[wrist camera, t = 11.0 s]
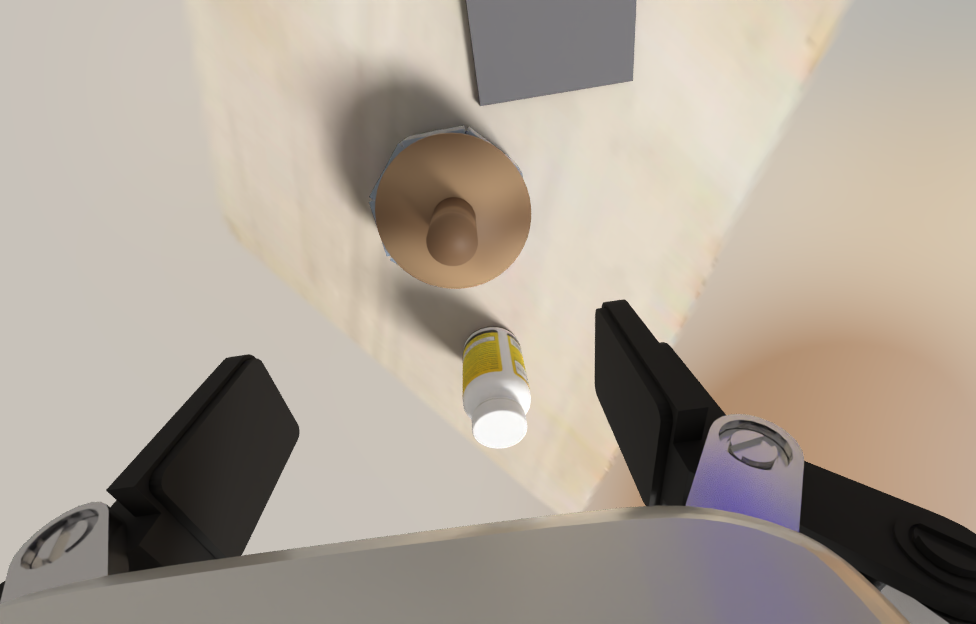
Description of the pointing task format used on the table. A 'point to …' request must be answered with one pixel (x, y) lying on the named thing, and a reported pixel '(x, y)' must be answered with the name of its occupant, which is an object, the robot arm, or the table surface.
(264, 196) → the table surface
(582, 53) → the mat
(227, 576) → the robot arm
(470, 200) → the lid
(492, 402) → the supplement bottle
